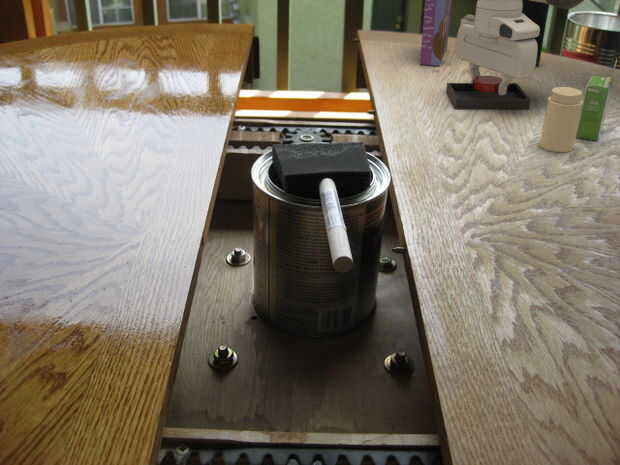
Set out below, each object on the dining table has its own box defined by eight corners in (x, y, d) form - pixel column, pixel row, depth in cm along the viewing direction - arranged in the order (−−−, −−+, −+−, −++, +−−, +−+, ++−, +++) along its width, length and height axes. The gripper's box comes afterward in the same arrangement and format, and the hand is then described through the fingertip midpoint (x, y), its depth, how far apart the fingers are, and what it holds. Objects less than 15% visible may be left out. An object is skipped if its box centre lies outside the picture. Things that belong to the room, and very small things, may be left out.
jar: (567, 140, 120) (578, 85, 115) (578, 152, 115) (590, 96, 110) (535, 140, 120) (544, 85, 115) (545, 152, 115) (555, 96, 110)
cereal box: (439, 66, 162) (449, -38, 150) (419, 65, 163) (428, -39, 151) (446, 49, 177) (456, -48, 165) (428, 48, 178) (437, -48, 166)
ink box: (580, 125, 126) (595, 55, 119) (602, 129, 124) (618, 58, 118) (574, 137, 121) (590, 65, 114) (597, 141, 119) (614, 68, 112)
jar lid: (476, 93, 135) (477, 84, 134) (470, 83, 141) (471, 75, 140) (506, 92, 135) (507, 84, 134) (499, 83, 140) (500, 75, 140)
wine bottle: (540, 61, 166) (563, -69, 151) (537, 68, 161) (560, -67, 146) (514, 59, 168) (534, -70, 153) (510, 65, 163) (530, -68, 148)
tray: (515, 92, 144) (517, 83, 143) (529, 109, 134) (531, 99, 133) (445, 92, 144) (446, 82, 143) (454, 109, 135) (455, 99, 134)
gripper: (451, 14, 138) (444, 79, 145) (522, 33, 122) (511, 105, 129) (474, 11, 140) (466, 75, 147) (547, 29, 125) (534, 100, 132)
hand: (488, 89), depth 138 cm, fingers closed on jar lid, 6 cm apart
